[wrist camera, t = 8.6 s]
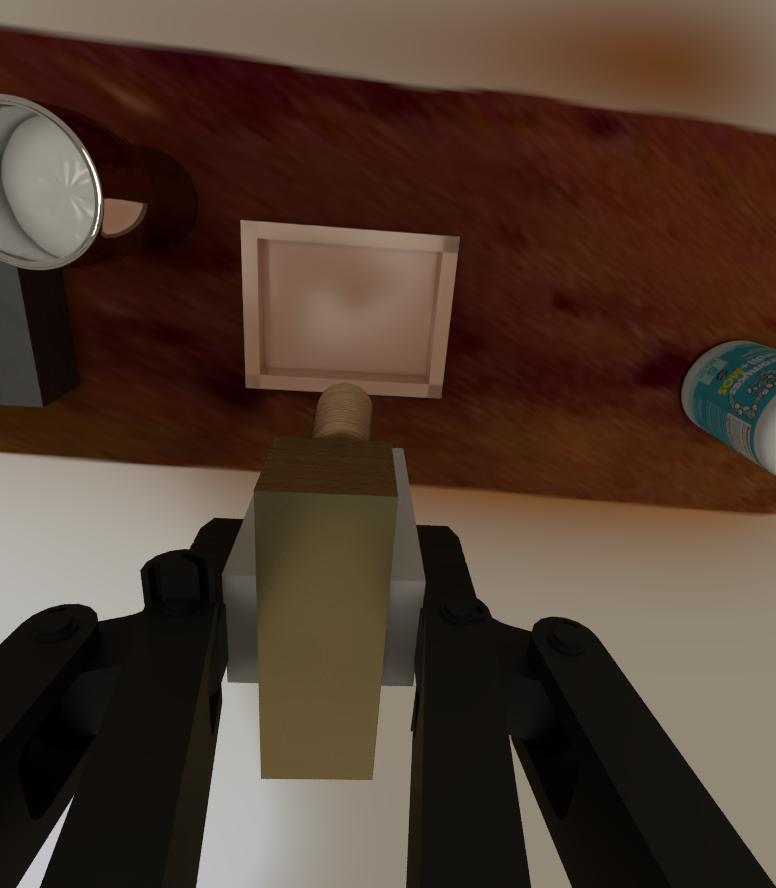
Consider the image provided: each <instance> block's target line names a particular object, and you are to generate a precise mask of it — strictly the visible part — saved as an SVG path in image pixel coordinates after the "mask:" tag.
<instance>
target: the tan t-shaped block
mask: <svg viewBox="0 0 776 888" xmlns="http://www.w3.org/2000/svg"><path fill="white" fill-rule="evenodd" d="M397 505H398V491H397V483H396V475H395V467H394V459H393V451H392V443H391V442H380V441H374V431H373V410H372V402H371V400H370V397H369V396H368V394H367V393H366V392H365V391H364V390H363V389H362V388H361V387H359V386H357V385H355V384H351V383H338V384H335V385H332V386H330V387H329V388H327V389H326V390H325V391H324V392H323V394H322V395H321V397H320V399H319V402H318V406H317V410H316V414H315V418H314V422H313V426H312V430H311V434H310V438H303V437H283V436H275V439H274V441H273V444H272V446H271V449H270V451H269V454H268V456H267V459H266V461H265V464H264V466H263V469H262V471H261V474H260V476H259V479H258V481H257V483H256V486H255V488H254V523H255V562H256V600H257V639H258V678H259V712H260V713H259V716H260V752H261V779H347V780H354V779H355V780H372V778H373V767H374V756H375V745H376V734H377V724H378V713H379V702H380V691H381V680H382V669H383V658H384V647H385V636H386V625H387V615H388V604H389V593H390V582H391V571H392V560H393V549H394V538H395V527H396V516H397Z"/></svg>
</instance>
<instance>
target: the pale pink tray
mask: <svg viewBox="0 0 776 888" xmlns="http://www.w3.org/2000/svg"><path fill="white" fill-rule="evenodd" d="M459 240H460V237H458V236H452V235H439V234H426V233H413V232H400V231H388V230H375V229H362V228H349V227H336V226H323V225H310V224H297V223H284V222H271V221H258V220H241V251H242V282H243V314H244V346H245V378H246V388H259V389H278V390H296V391H314V392H324V391H325V390H326V389H327V388H329V387H330V386H332V385H335V384H338V383H351V384H355V385H357V386H359V387H361V388H362V389H363V390H364V391H365V392H366V393H367V394H369V395H387V396H405V397H423V398H441V395H442V386H443V378H444V369H445V360H446V352H447V343H448V334H449V326H450V317H451V309H452V300H453V291H454V283H455V274H456V265H457V257H458V248H459Z"/></svg>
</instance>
